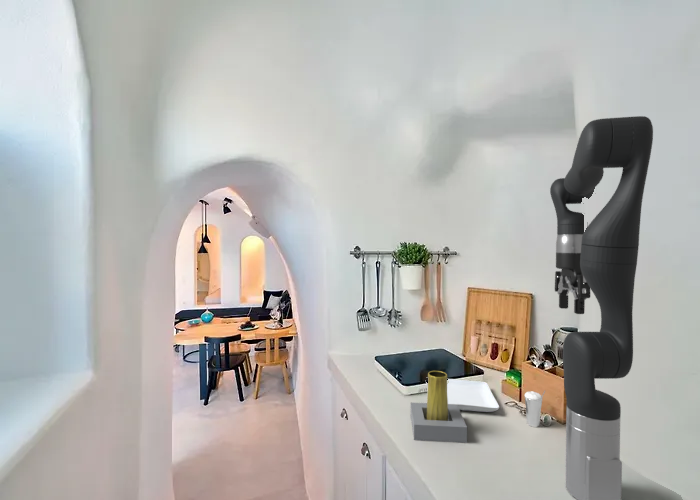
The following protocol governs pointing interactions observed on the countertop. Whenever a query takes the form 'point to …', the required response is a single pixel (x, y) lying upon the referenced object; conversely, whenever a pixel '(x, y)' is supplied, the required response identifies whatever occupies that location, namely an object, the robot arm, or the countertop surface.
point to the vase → (437, 396)
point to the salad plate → (471, 395)
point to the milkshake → (533, 408)
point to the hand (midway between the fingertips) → (571, 310)
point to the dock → (438, 425)
